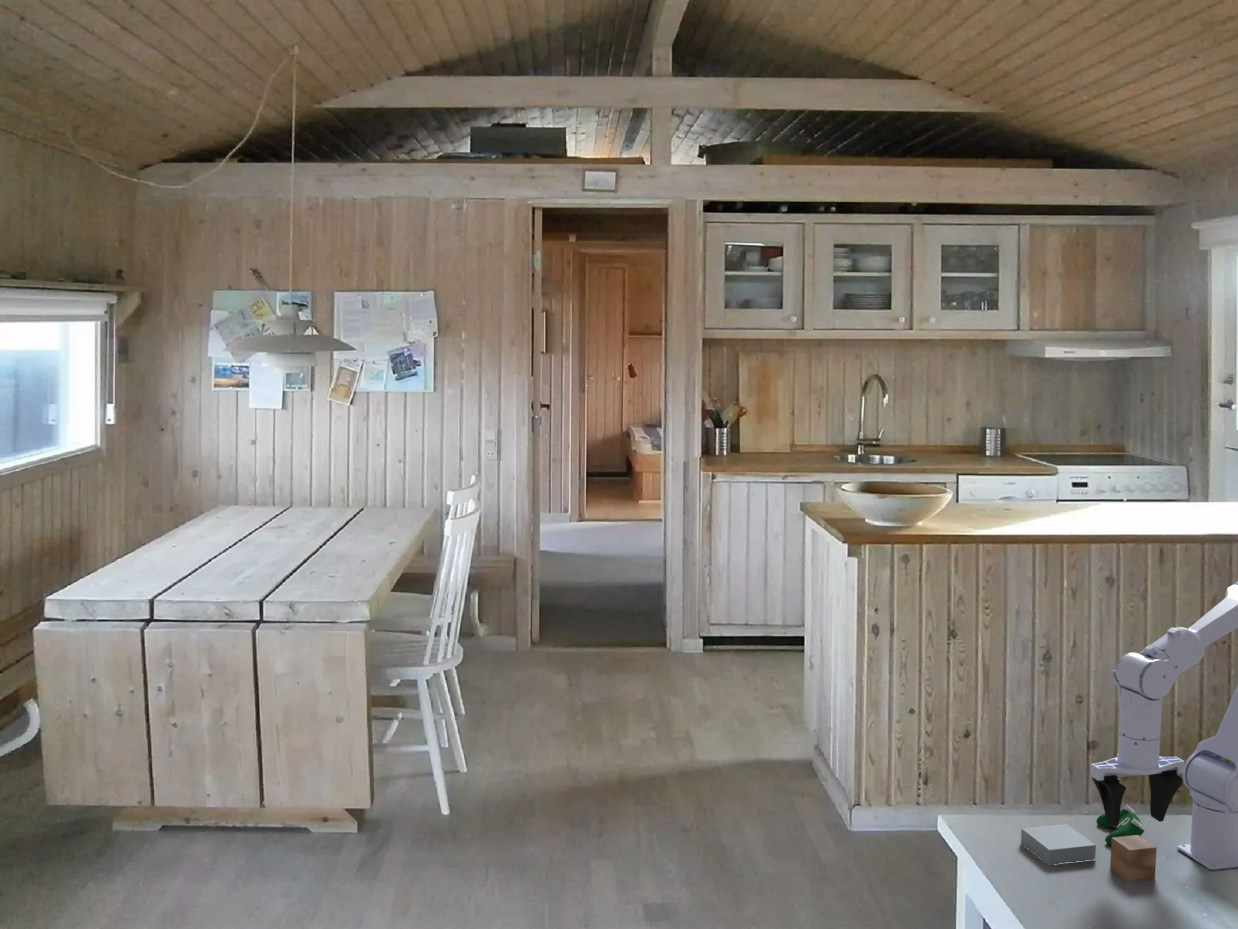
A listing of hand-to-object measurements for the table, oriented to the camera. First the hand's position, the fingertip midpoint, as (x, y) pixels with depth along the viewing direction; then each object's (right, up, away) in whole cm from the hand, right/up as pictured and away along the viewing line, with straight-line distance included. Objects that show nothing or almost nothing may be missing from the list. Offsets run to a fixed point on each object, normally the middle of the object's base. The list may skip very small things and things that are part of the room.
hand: (1134, 821), depth 182 cm
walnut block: (0, -8, +1) cm, 8 cm away
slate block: (-9, -8, +8) cm, 14 cm away
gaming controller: (+4, -7, +14) cm, 16 cm away
